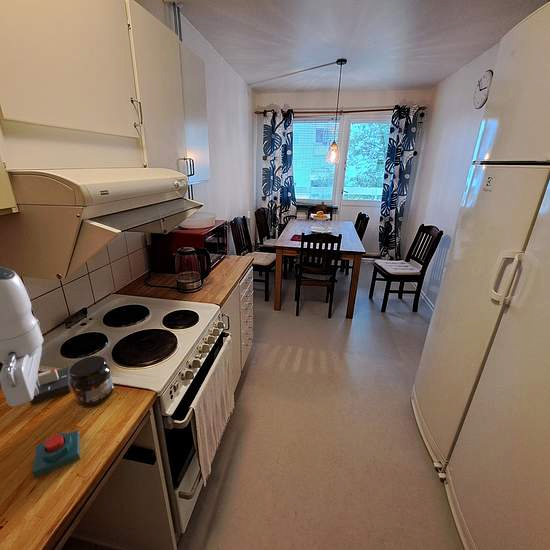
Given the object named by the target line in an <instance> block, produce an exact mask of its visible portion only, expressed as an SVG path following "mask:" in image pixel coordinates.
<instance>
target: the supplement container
mask: <svg viewBox="0 0 550 550" xmlns="http://www.w3.org/2000/svg"><path fill="white" fill-rule="evenodd" d="M69 369H70V370H69V373H70V377H71V378H70V384H71V388H72V391H73V394H74V397H75V401H76V404H78V405H79V406H81V407H85V408H88V407H94V406H98V405H100V404H101V403H104V402H105V401H106V400H108V399H109V398H110V397H111V396H112V395H113V393H114V390H115V385H114V383H113V378H112V374H111V369H110V366H109V364H107V361H106V359H105V358H104V356H102V355H101V356H100V355H91V356H90V355H89V356H86V357H84V358H82V359H79V360H77V361H76V362H74V364H72V365H71V366H70V367H69Z"/></svg>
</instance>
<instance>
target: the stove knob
mask: <svg viewBox="0 0 550 550" xmlns="http://www.w3.org/2000/svg"><path fill="white" fill-rule="evenodd" d="M38 379H39V382H40V384H41V385H43V384H46V383H50V382H53V381H56V380H58V379H59V377H58V374H57V369H56V368H51V369H49V370H47V371H43V372H38Z"/></svg>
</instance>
